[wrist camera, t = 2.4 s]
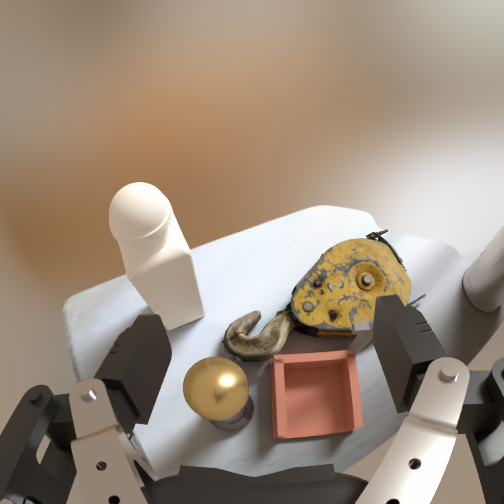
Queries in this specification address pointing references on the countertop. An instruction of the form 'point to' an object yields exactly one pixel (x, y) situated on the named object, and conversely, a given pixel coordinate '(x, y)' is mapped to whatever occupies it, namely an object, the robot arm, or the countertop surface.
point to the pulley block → (327, 298)
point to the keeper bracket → (318, 390)
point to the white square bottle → (156, 254)
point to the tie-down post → (219, 393)
